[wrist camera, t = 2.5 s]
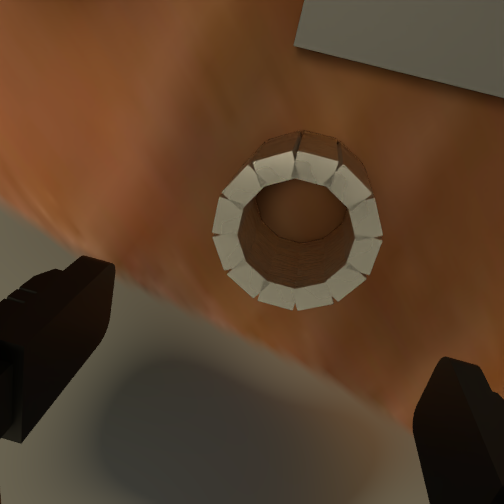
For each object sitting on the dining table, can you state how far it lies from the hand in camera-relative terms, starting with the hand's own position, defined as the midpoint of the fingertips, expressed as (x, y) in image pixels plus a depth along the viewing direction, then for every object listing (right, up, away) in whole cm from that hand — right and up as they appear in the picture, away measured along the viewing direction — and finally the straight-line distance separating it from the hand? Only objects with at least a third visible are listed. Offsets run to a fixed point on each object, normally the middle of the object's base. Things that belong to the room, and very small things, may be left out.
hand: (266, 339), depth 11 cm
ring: (+2, +5, +11) cm, 12 cm away
